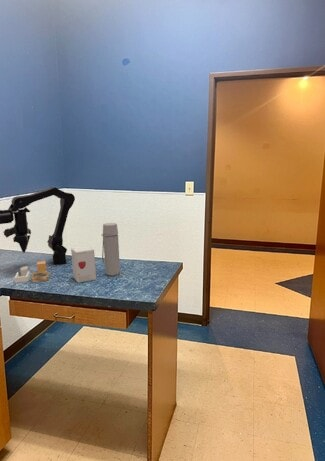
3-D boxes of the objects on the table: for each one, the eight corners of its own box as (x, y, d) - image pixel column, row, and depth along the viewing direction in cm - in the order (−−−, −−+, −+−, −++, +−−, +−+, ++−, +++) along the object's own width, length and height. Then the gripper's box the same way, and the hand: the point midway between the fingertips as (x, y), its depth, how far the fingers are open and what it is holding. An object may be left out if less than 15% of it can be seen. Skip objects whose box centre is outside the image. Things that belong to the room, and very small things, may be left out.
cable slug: (28, 272, 170) (27, 266, 169) (27, 275, 165) (26, 269, 164) (22, 273, 169) (21, 266, 168) (20, 276, 164) (20, 269, 163)
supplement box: (77, 283, 153) (74, 252, 150) (73, 277, 161) (70, 247, 158) (96, 279, 157) (94, 249, 154) (91, 274, 165) (89, 244, 162)
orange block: (46, 270, 172) (45, 261, 171) (46, 273, 168) (45, 263, 167) (38, 271, 171) (37, 261, 170) (37, 273, 167) (36, 264, 166)
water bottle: (123, 272, 166) (120, 223, 161) (114, 277, 160) (111, 226, 154) (108, 269, 170) (105, 222, 165) (99, 274, 163) (95, 225, 158)
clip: (30, 275, 164) (29, 271, 164) (28, 281, 157) (27, 276, 156) (17, 277, 163) (16, 272, 162) (14, 282, 155) (14, 277, 155)
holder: (49, 275, 165) (49, 271, 164) (48, 280, 157) (47, 276, 157) (33, 276, 163) (32, 273, 162) (31, 282, 155) (30, 278, 155)
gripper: (7, 219, 175) (10, 248, 179) (0, 226, 158) (4, 257, 161) (29, 218, 178) (32, 246, 181) (25, 224, 160) (28, 255, 164)
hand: (24, 251), depth 172 cm, fingers open, 4 cm apart
